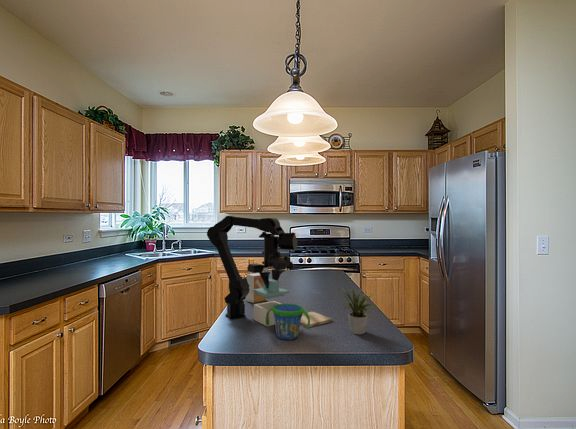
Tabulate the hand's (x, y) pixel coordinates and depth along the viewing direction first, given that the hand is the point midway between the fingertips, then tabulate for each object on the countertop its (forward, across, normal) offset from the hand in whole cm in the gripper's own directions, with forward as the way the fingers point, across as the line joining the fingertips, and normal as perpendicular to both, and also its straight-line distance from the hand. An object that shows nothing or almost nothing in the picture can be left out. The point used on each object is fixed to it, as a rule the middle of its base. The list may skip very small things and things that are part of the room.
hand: (270, 288), depth 132 cm
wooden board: (+13, +13, -9) cm, 20 cm away
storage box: (+13, 0, 0) cm, 13 cm away
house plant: (+13, +18, -28) cm, 36 cm away
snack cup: (+13, -5, -18) cm, 23 cm away
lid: (+3, 0, 0) cm, 3 cm away
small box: (+13, +11, +30) cm, 35 cm away
